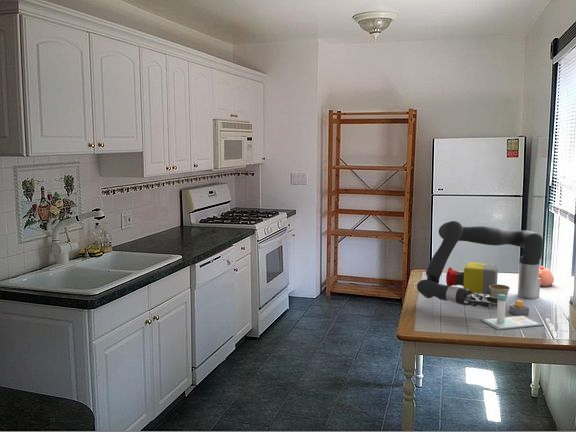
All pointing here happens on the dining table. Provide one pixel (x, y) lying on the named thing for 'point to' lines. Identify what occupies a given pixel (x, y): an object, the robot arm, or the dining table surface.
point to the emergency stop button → (474, 277)
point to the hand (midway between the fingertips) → (493, 302)
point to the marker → (501, 308)
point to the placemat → (512, 322)
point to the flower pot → (498, 291)
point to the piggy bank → (545, 276)
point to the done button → (519, 303)
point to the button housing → (518, 310)
